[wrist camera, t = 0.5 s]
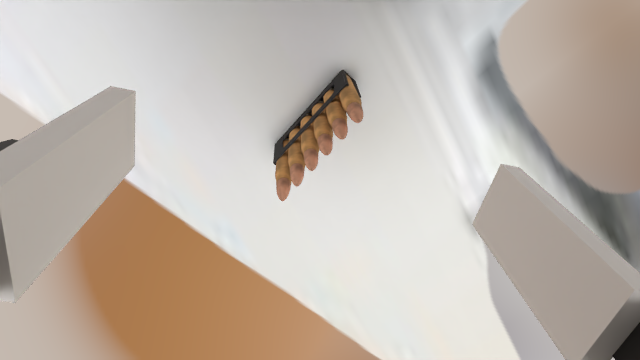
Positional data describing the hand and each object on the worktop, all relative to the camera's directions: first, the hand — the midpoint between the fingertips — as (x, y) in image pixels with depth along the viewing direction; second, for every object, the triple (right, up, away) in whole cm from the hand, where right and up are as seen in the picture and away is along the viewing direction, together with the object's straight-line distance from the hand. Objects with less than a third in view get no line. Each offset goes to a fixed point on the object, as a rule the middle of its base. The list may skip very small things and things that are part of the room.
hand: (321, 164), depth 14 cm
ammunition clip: (-1, +6, +27) cm, 28 cm away
